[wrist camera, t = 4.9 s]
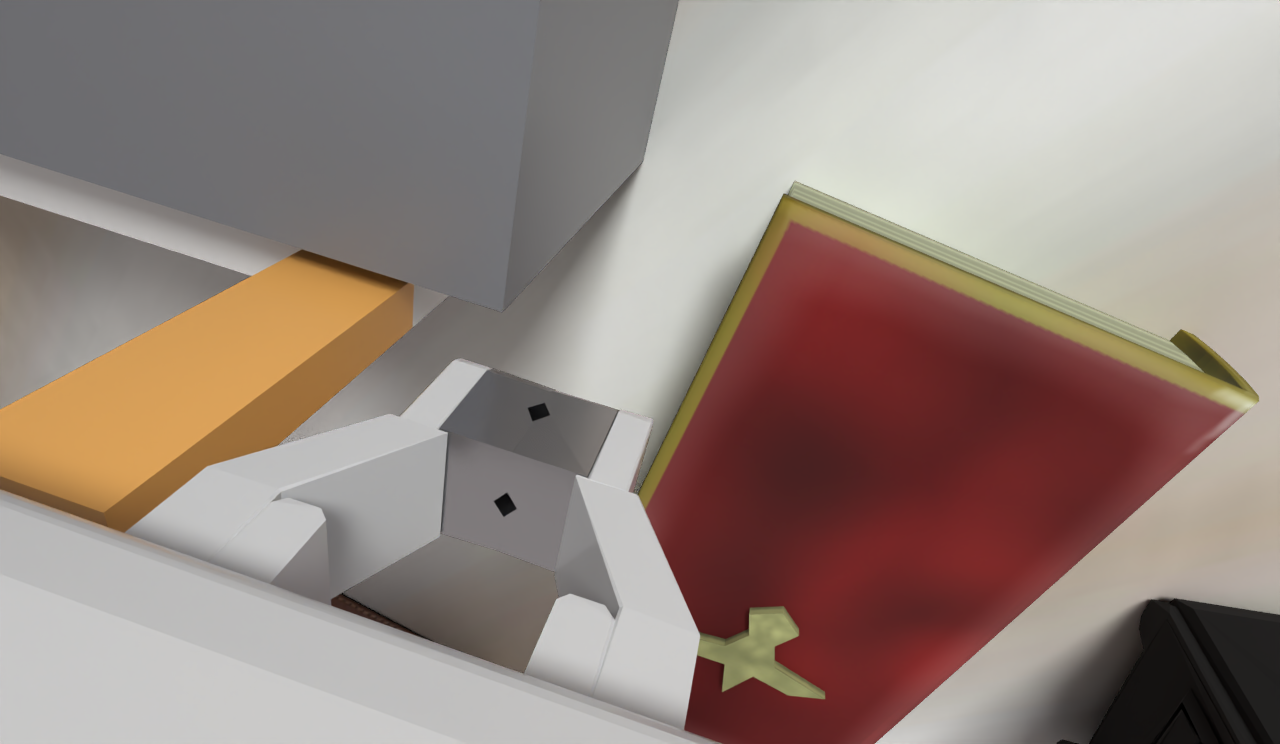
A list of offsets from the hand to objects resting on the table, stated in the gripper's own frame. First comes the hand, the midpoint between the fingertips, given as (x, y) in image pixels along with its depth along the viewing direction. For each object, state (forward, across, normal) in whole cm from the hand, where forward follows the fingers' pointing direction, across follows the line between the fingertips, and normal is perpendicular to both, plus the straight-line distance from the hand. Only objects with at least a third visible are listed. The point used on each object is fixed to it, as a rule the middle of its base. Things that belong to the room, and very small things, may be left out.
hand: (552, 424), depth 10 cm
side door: (+10, +8, 0) cm, 13 cm away
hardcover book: (+12, -7, +9) cm, 17 cm away
